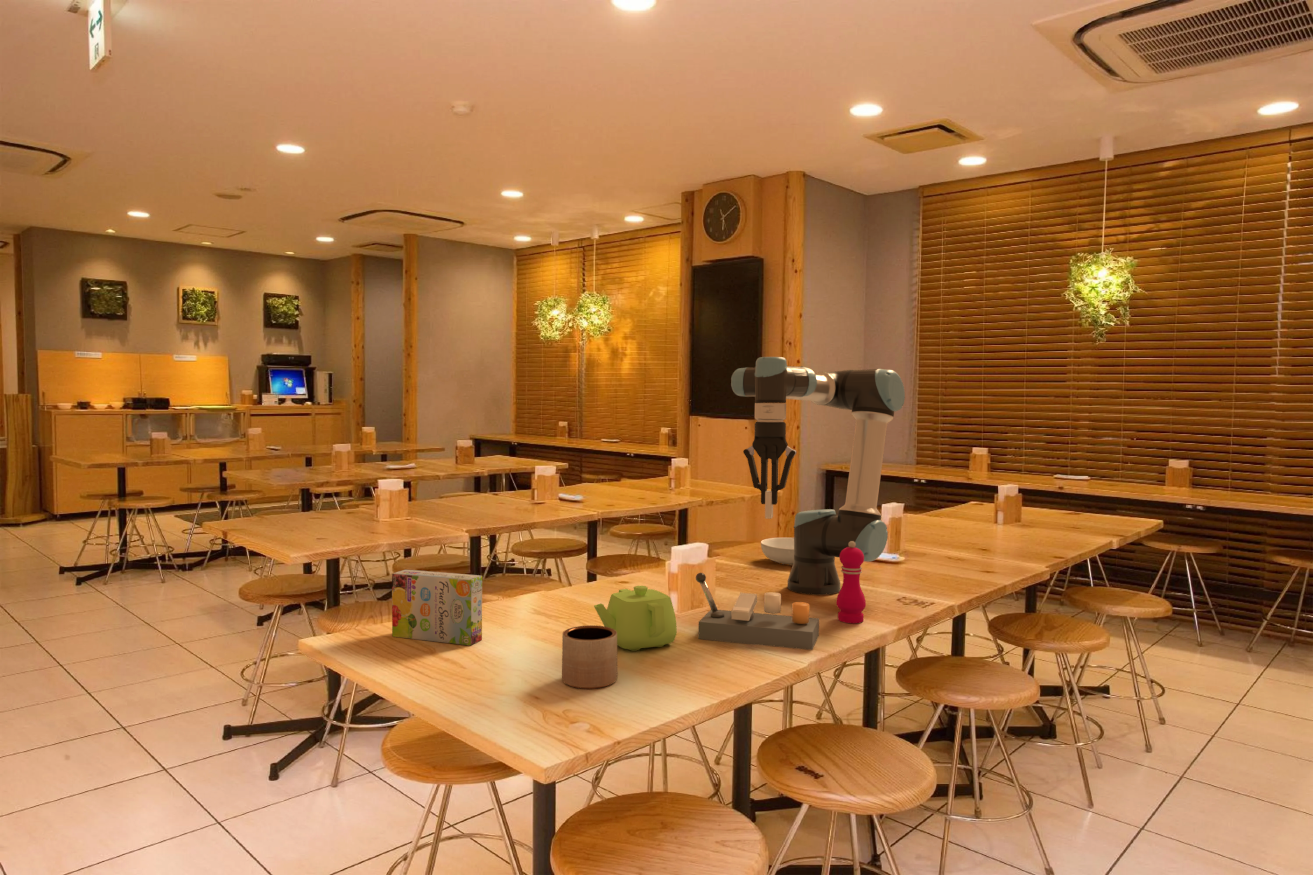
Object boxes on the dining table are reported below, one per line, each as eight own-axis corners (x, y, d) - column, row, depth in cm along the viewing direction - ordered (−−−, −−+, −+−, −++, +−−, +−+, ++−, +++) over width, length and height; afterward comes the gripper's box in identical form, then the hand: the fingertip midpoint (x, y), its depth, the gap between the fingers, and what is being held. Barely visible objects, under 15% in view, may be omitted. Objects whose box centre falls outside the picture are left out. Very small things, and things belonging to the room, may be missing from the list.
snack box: (483, 639, 190) (483, 574, 189) (470, 646, 184) (470, 579, 184) (405, 630, 197) (404, 567, 196) (390, 637, 191) (389, 572, 191)
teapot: (613, 663, 174) (613, 601, 173) (577, 638, 191) (577, 582, 191) (689, 651, 182) (690, 592, 181) (648, 628, 200) (648, 575, 199)
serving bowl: (759, 567, 272) (759, 546, 271) (761, 555, 292) (762, 536, 292) (824, 570, 268) (824, 549, 268) (822, 558, 289) (822, 538, 289)
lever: (712, 612, 197) (695, 573, 198) (721, 608, 197) (704, 570, 198) (709, 614, 195) (693, 575, 196) (718, 611, 194) (701, 572, 195)
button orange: (793, 618, 192) (793, 601, 192) (810, 619, 191) (810, 602, 191) (790, 622, 189) (791, 605, 188) (807, 624, 187) (808, 606, 187)
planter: (562, 672, 168) (562, 625, 167) (616, 670, 169) (616, 624, 168) (561, 691, 157) (561, 641, 156) (618, 689, 158) (618, 640, 157)
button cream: (765, 608, 194) (765, 591, 194) (781, 609, 193) (782, 592, 193) (762, 612, 190) (762, 595, 190) (779, 614, 189) (779, 596, 189)
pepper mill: (866, 624, 204) (867, 544, 203) (836, 623, 205) (837, 542, 204) (864, 617, 211) (866, 539, 210) (835, 615, 212) (837, 538, 211)
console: (711, 625, 203) (711, 601, 202) (818, 635, 195) (819, 610, 194) (698, 638, 191) (698, 613, 191) (812, 649, 183) (812, 623, 183)
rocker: (740, 600, 199) (740, 591, 198) (757, 601, 198) (756, 593, 197) (731, 619, 190) (731, 610, 189) (748, 620, 189) (748, 611, 188)
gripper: (740, 421, 199) (739, 518, 201) (794, 421, 195) (793, 521, 197) (746, 420, 207) (745, 514, 208) (799, 420, 203) (798, 517, 204)
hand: (769, 517), depth 202 cm, fingers closed
